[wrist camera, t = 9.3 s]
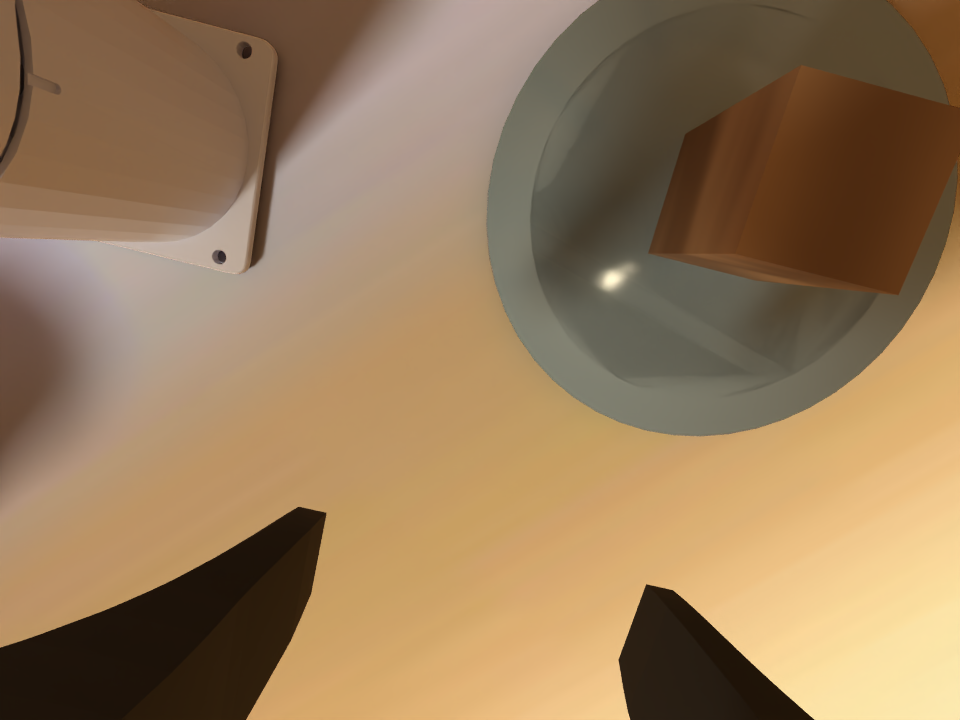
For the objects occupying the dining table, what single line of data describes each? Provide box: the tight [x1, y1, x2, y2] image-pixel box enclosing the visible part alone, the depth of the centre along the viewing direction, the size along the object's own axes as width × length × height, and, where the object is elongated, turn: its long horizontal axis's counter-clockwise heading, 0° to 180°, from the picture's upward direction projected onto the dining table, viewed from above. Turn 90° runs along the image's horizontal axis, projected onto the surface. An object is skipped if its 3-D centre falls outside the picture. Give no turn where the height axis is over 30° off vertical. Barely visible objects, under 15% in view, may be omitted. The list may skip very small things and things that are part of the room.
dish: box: [487, 0, 957, 436], centre depth 17 cm, size 16×16×1 cm
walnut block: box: [648, 65, 960, 295], centre depth 14 cm, size 4×4×6 cm
